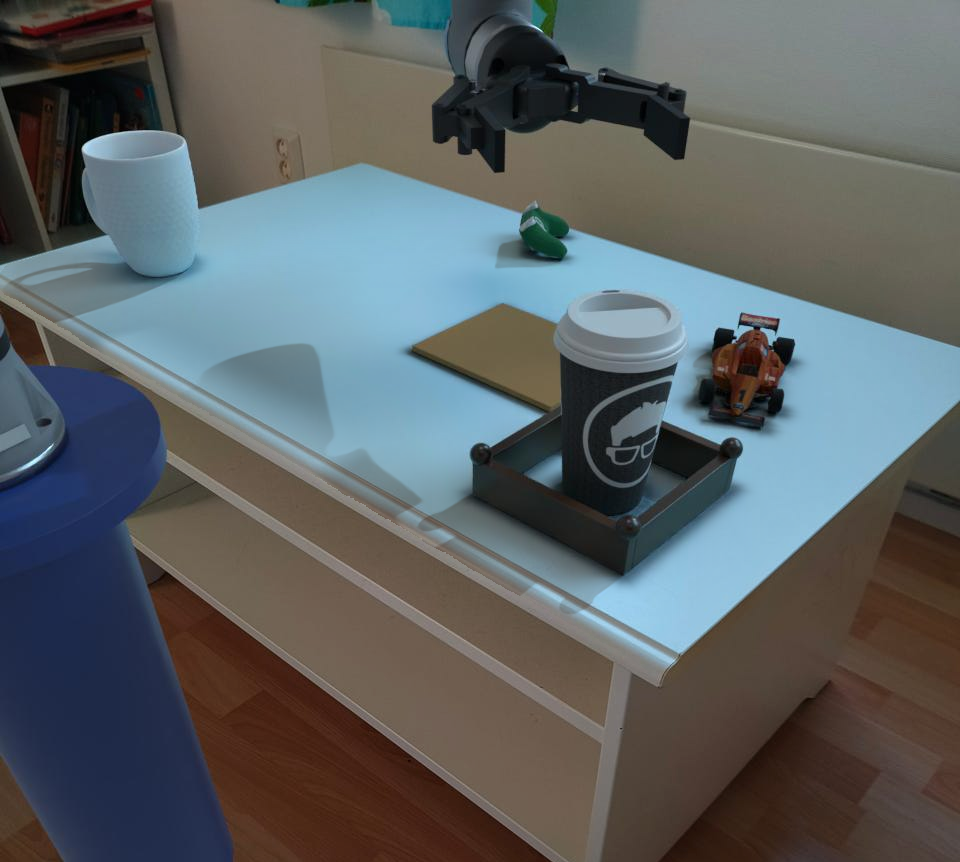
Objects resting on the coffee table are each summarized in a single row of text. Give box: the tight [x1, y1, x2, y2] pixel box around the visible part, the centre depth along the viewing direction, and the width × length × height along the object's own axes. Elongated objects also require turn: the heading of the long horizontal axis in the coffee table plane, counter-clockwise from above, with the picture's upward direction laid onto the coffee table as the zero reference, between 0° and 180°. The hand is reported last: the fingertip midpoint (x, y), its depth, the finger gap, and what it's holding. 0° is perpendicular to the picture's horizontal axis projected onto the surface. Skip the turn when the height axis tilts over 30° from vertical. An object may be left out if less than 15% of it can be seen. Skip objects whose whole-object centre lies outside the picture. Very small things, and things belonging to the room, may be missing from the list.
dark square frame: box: [469, 405, 744, 576], centre depth 71 cm, size 16×16×5 cm
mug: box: [81, 129, 200, 278], centre depth 101 cm, size 15×11×13 cm
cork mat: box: [411, 302, 561, 413], centre depth 89 cm, size 18×14×1 cm
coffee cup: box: [553, 288, 689, 516], centre depth 67 cm, size 10×10×15 cm
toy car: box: [698, 312, 796, 428], centre depth 84 cm, size 8×16×4 cm, turn 162°
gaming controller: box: [518, 200, 570, 260], centre depth 109 cm, size 9×4×6 cm
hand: (592, 145), depth 63 cm, fingers open, 13 cm apart
